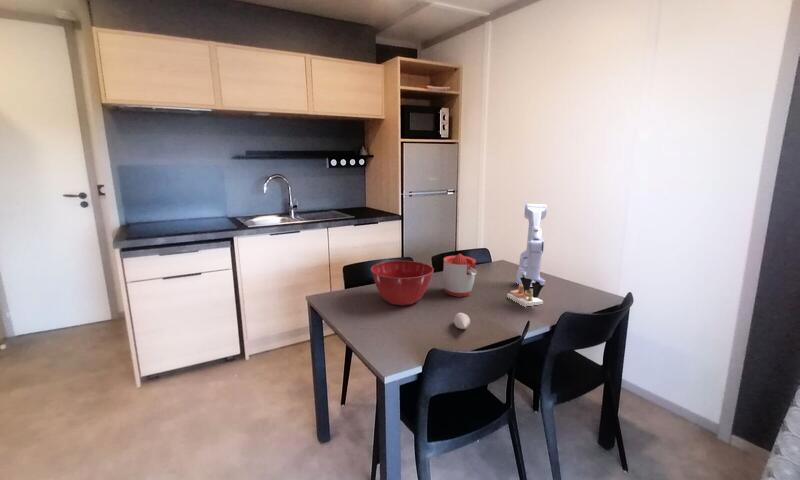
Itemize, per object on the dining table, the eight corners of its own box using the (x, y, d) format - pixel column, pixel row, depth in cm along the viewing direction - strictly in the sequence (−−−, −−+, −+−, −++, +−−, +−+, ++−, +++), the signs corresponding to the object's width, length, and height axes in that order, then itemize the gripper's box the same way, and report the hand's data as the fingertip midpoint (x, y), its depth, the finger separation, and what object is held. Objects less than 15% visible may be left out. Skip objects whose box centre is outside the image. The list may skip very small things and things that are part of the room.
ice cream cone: (463, 338, 141) (458, 327, 156) (476, 328, 141) (470, 318, 156) (452, 325, 141) (449, 315, 156) (466, 315, 141) (461, 306, 156)
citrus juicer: (462, 302, 177) (465, 260, 173) (435, 292, 190) (436, 252, 185) (483, 294, 187) (486, 255, 183) (456, 285, 200) (458, 248, 195)
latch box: (507, 297, 184) (507, 293, 184) (524, 295, 188) (524, 291, 187) (524, 307, 172) (524, 303, 172) (542, 305, 176) (543, 300, 175)
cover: (510, 293, 184) (510, 283, 183) (522, 291, 187) (523, 282, 186) (519, 298, 178) (520, 288, 177) (531, 296, 180) (532, 287, 179)
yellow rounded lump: (518, 297, 179) (519, 287, 178) (529, 296, 181) (529, 286, 180) (526, 301, 174) (527, 291, 173) (536, 300, 176) (537, 290, 175)
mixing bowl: (357, 299, 177) (357, 267, 174) (400, 285, 198) (400, 256, 195) (403, 318, 159) (404, 282, 155) (444, 300, 179) (446, 268, 176)
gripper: (516, 262, 178) (513, 290, 181) (537, 271, 164) (534, 301, 167) (528, 261, 180) (526, 289, 183) (550, 270, 167) (547, 300, 170)
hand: (530, 295), depth 175 cm, fingers open, 6 cm apart
